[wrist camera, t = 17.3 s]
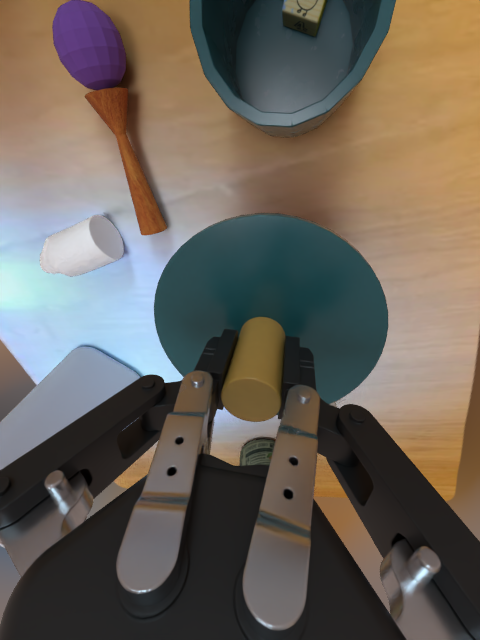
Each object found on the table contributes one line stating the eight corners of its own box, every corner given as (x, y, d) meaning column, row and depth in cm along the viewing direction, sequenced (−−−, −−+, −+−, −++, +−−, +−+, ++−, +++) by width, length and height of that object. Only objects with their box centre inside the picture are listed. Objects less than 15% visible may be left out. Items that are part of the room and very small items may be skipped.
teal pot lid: (122, 304, 18) (51, 366, 13) (287, 144, 12) (280, 135, 7) (252, 424, 22) (238, 509, 16) (426, 348, 16) (491, 444, 10)
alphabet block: (282, 27, 24) (295, -24, 23) (315, 38, 24) (331, -12, 23) (280, 13, 22) (294, -46, 20) (317, 25, 22) (335, -33, 20)
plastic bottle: (79, 335, 49) (-126, 502, 25) (153, 378, 51) (28, 569, 27) (63, 382, 57) (-107, 544, 33) (127, 418, 59) (12, 594, 35)
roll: (45, 240, 40) (12, 251, 36) (107, 211, 36) (78, 219, 32) (71, 277, 43) (42, 292, 38) (131, 253, 39) (107, 266, 34)
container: (204, 58, 27) (150, 1, 17) (308, -87, 21) (317, -292, 12) (279, 164, 30) (271, 167, 20) (386, 62, 25) (444, 0, 15)
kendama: (120, 240, 34) (22, 5, 23) (149, 225, 38) (78, 23, 27) (160, 237, 31) (71, -25, 21) (185, 221, 36) (123, -1, 25)
